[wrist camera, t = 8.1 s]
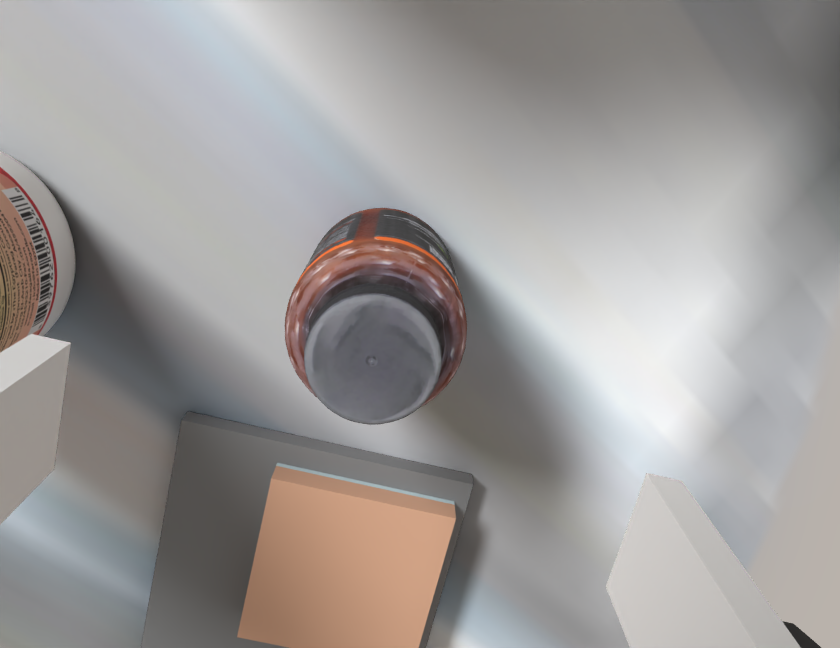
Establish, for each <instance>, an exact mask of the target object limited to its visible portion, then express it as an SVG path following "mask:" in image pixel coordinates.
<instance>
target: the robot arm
mask: <svg viewBox="0 0 840 648" xmlns="http://www.w3.org/2000/svg"><path fill="white" fill-rule="evenodd" d="M70 347H71V343H70V342H65V341H61V340H56V339H52V338H48V337H43V336H39V335H34V334H30V335H28V336H27V337H25V338H23V339H22V340H20V341H19V342H17V343H15V344H14V345H12V346H10V347H9V348H7V349H5V350H4V351H2V352H1V353H0V524H1V523H2V522H3V521H4V520H5V519H6V518H7V517H8V516H9V515H10V514H11V513H12V512H13V511H14V510H15V509H16V508H17V507H18V506H19V505H20V504H21V503H22V502H23V501H24V500H25V499H26V498H27V497H28V496H29V495H30V493H31V492H32V491H33V490H34V489H35V488H36V487H37V486H38V485H39V484H40V483H41V482H42V481H43V480H44V479H45V478H46V477H47V476H48V475H49V474H50V473H51V472H52V471H53V470H54V466H55V459H56V451H57V444H58V436H59V429H60V422H61V414H62V407H63V399H64V392H65V384H66V377H67V369H68V362H69V355H70ZM606 589H607V591H608V594H609V596H610V599H611V601H612V604H613V606H614V609H615V611H616V614H617V616H618V619H619V621H620V624H621V626H622V629H623V631H624V634H625V636H626V639H627V641H628V644H629V646H630V648H821V647H820V646H819V645H818V644H817V643H815V642H814V641H813V640H812V639H810V637H808V636H807V635H806V634H805V633H804V632H802V631H801V630H800V629H799V628H798V627H796V626H795V625H794V624H792V623H788V622H783V621H782V620H781V619H780V618H779V616H778V615H777V614H776V612H775V611H774V610H773V608H772V607H771V605H770V604H769V602H768V601H767V600H766V598H765V597H764V595H763V594H762V593H761V591H760V590H759V588H758V587H757V585H756V584H755V583H754V581H753V580H752V578H751V577H750V576H749V574H748V573H747V571H746V570H745V569H744V567H743V566H742V564H741V563H740V562H739V560H738V559H737V557H736V556H735V555H734V553H733V552H732V550H731V549H730V548H729V546H728V545H727V543H726V542H725V541H724V539H723V538H722V536H721V535H720V534H719V532H718V531H717V529H716V528H715V527H714V525H713V524H712V522H711V521H710V520H709V518H708V517H707V515H706V514H705V513H704V511H703V510H702V508H701V507H700V506H699V504H698V503H697V501H696V500H695V499H694V497H693V496H692V494H691V493H690V491H689V490H688V489H687V487H686V486H685V484H684V483H683V482H682V481H680V480H676V479H671V478H667V477H662V476H658V475H654V474H649V473H646V476H645V479H644V481H643V484H642V487H641V490H640V493H639V495H638V498H637V501H636V504H635V507H634V510H633V512H632V515H631V518H630V521H629V524H628V526H627V529H626V532H625V535H624V538H623V540H622V543H621V546H620V549H619V552H618V554H617V557H616V560H615V563H614V566H613V568H612V571H611V574H610V577H609V580H608V582H607V585H606Z"/></svg>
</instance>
